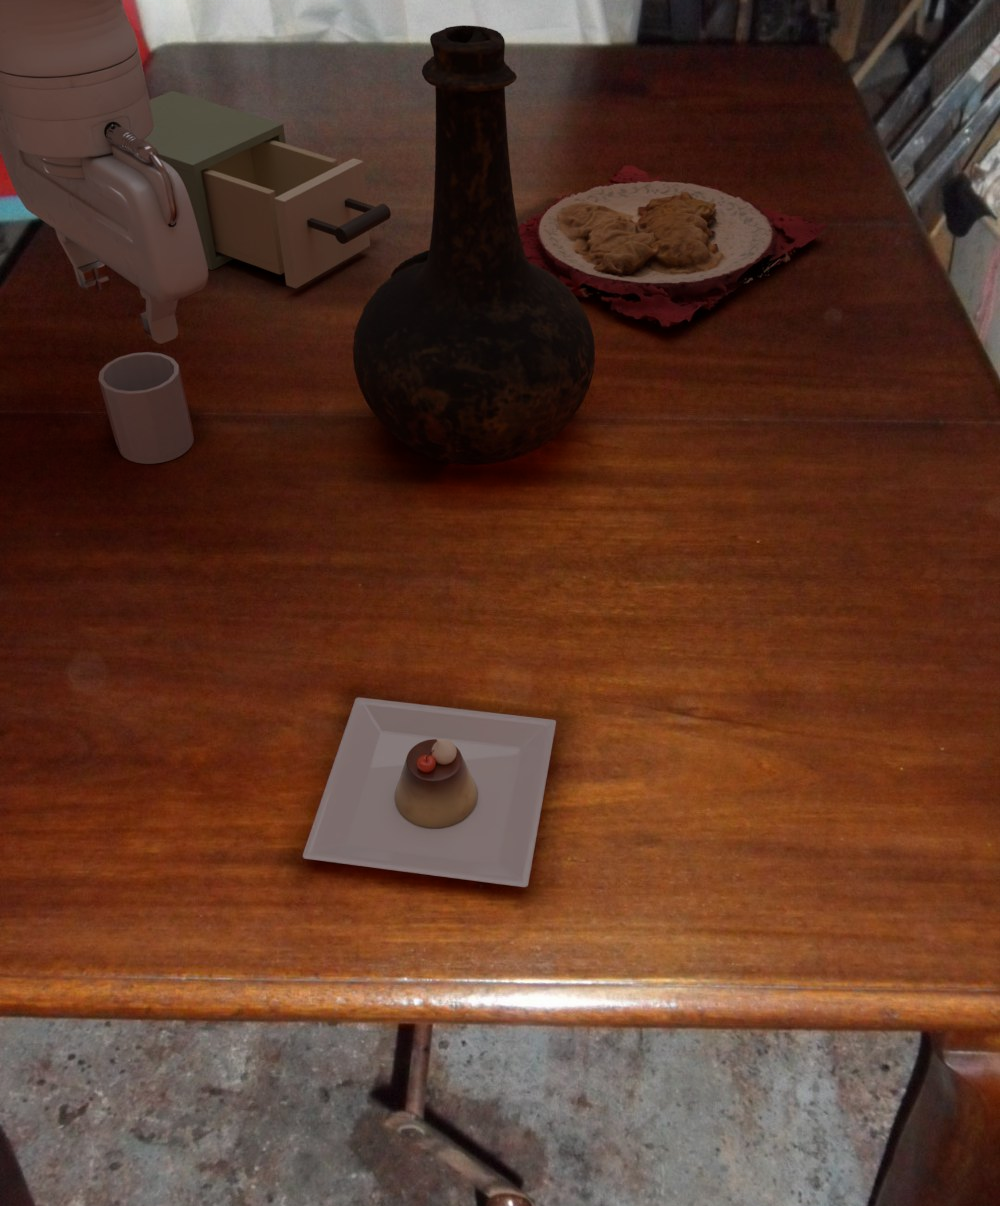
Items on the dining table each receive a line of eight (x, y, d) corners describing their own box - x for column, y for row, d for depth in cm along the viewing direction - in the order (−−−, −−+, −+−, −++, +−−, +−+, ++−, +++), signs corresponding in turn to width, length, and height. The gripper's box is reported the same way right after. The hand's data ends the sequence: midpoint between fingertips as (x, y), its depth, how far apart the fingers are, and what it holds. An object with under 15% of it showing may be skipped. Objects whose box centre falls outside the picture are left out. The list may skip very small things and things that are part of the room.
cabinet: (296, 226, 117) (283, 123, 110) (212, 270, 110) (192, 164, 103) (191, 189, 123) (172, 90, 116) (105, 230, 116) (79, 127, 109)
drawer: (409, 259, 110) (404, 173, 104) (335, 303, 104) (326, 215, 98) (265, 210, 117) (253, 127, 111) (188, 249, 111) (171, 164, 106)
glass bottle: (508, 349, 100) (509, -30, 80) (638, 449, 90) (677, 44, 70) (320, 412, 94) (269, 16, 73) (437, 528, 83) (416, 106, 63)
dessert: (304, 870, 63) (292, 813, 60) (357, 709, 71) (350, 651, 68) (527, 899, 62) (528, 843, 58) (555, 732, 70) (558, 674, 67)
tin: (102, 447, 90) (82, 377, 86) (157, 414, 94) (141, 344, 89) (154, 472, 88) (136, 401, 84) (209, 437, 91) (195, 367, 87)
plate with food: (824, 244, 114) (832, 208, 112) (669, 339, 101) (674, 300, 98) (627, 180, 125) (629, 146, 123) (462, 257, 112) (462, 221, 109)
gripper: (210, 138, 70) (247, 353, 80) (47, 51, 80) (98, 250, 90) (114, 168, 67) (165, 386, 77) (-42, 73, 77) (21, 276, 87)
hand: (128, 312), depth 84 cm, fingers open, 8 cm apart
